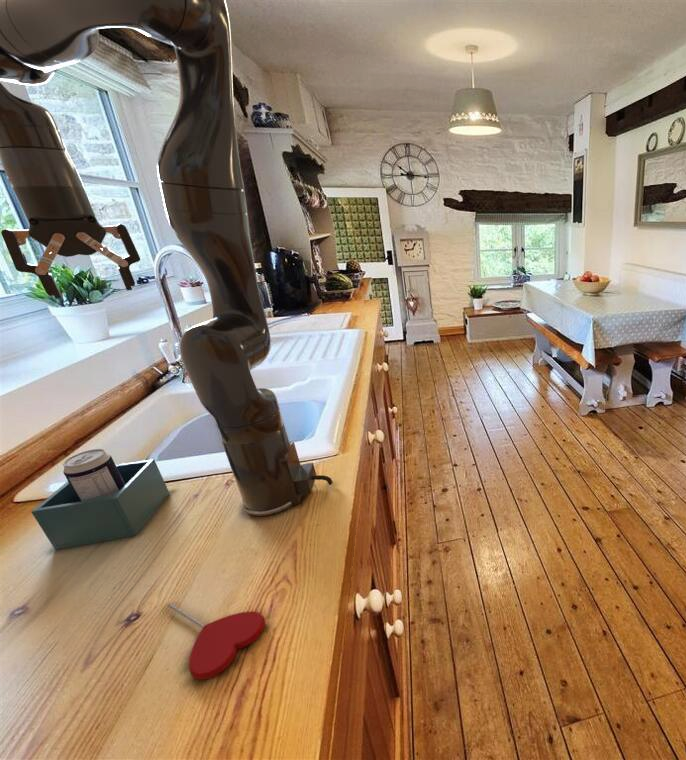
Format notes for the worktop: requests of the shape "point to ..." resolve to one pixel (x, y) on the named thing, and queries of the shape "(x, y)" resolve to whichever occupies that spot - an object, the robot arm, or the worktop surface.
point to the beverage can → (93, 475)
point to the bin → (103, 509)
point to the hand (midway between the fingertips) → (95, 293)
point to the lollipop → (221, 641)
